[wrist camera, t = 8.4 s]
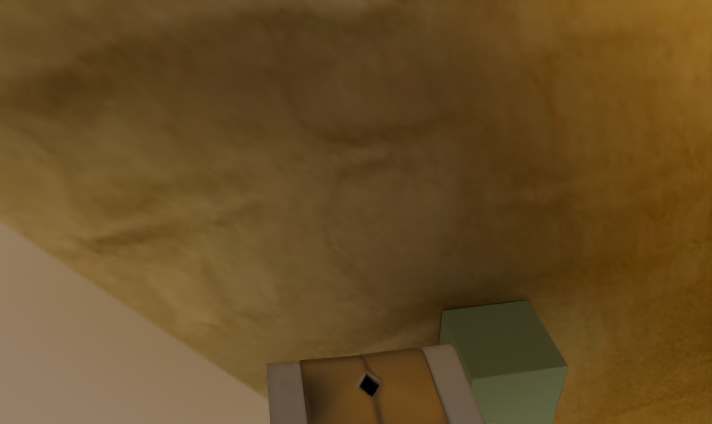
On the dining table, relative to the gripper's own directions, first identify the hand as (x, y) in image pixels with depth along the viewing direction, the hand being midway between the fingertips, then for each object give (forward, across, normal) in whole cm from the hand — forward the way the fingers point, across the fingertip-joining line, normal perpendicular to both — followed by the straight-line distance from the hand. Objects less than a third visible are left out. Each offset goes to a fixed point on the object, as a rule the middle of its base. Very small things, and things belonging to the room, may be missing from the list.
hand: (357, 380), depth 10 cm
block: (+15, +9, -15) cm, 23 cm away
